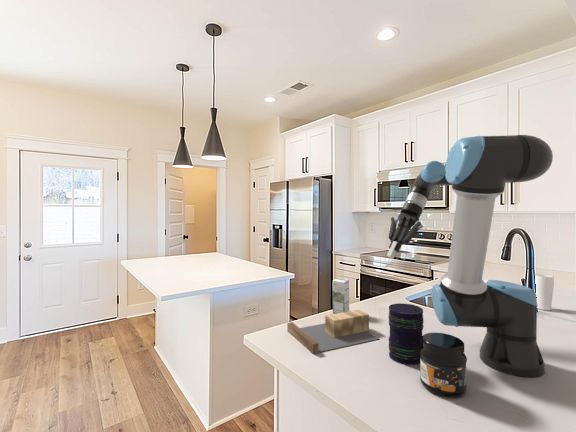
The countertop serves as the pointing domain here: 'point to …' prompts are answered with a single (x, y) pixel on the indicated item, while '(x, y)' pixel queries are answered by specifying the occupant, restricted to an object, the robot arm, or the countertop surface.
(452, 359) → the supplement container
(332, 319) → the oak block
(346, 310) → the syrup box
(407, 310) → the storage jar
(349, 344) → the mat
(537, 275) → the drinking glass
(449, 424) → the countertop surface
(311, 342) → the backstop strip
